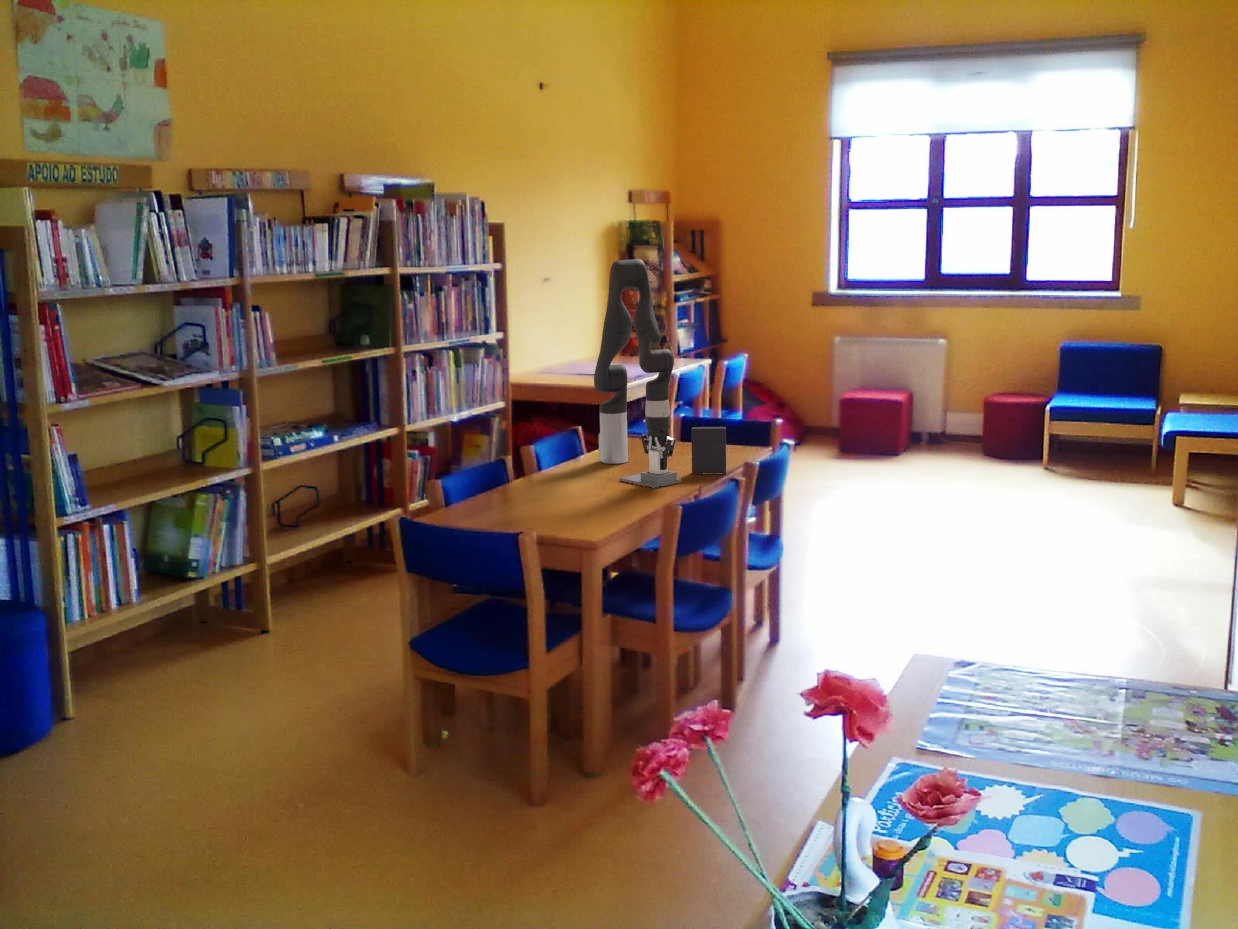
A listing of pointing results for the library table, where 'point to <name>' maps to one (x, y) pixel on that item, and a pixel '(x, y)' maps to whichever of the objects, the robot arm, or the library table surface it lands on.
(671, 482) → the grey base with socket
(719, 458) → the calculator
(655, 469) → the charger
